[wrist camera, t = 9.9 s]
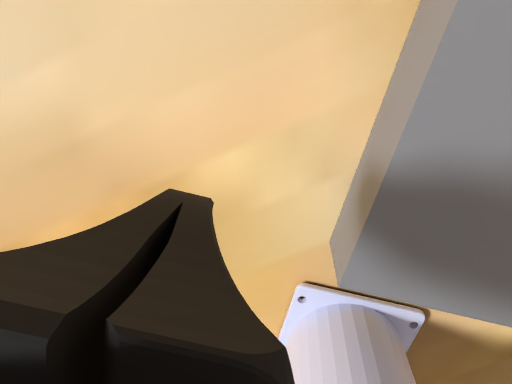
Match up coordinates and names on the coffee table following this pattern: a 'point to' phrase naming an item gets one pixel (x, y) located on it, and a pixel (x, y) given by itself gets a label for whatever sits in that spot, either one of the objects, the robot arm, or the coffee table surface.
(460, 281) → the deck
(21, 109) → the coffee table surface
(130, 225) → the robot arm
